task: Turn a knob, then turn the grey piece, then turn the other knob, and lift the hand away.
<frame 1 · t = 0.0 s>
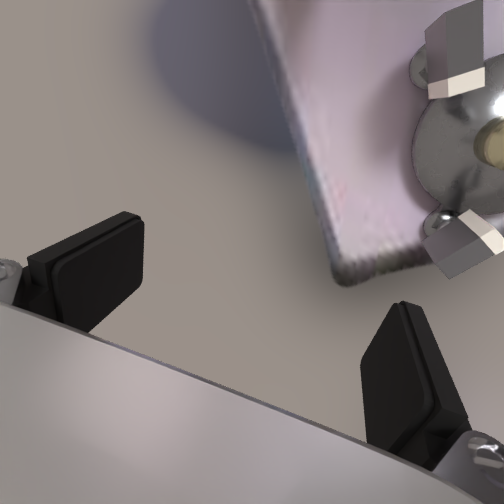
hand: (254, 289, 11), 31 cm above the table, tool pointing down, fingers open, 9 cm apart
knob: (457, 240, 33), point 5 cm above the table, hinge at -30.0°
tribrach: (492, 139, 32), on the table
grey piece: (448, 57, 26), point 5 cm above the table, hinge at -30.0°
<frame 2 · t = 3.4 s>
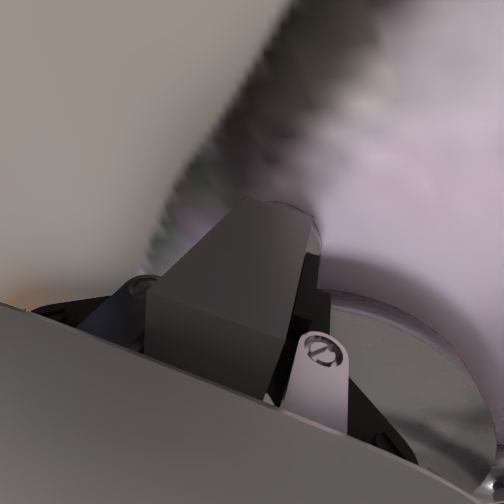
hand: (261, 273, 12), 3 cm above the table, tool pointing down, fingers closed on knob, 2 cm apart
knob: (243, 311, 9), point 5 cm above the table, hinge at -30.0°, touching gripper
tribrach: (320, 401, 18), on the table
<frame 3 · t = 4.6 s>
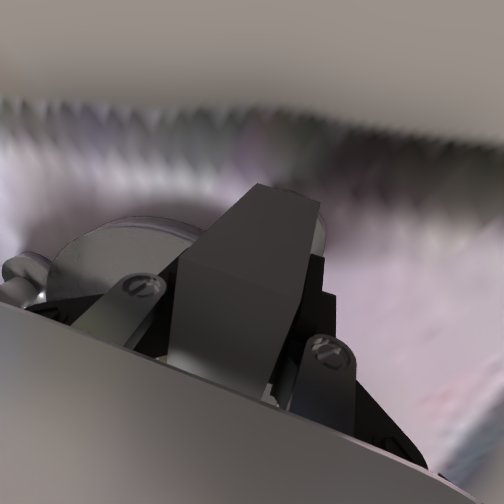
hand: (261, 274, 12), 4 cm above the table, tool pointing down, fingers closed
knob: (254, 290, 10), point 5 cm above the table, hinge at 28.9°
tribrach: (172, 328, 20), on the table
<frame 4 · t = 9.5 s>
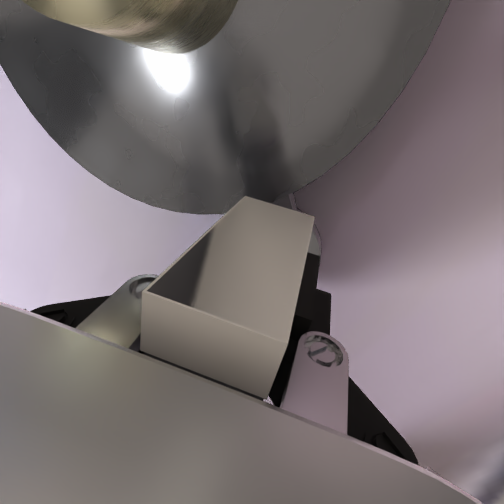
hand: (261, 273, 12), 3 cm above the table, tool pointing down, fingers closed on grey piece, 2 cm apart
grey piece: (243, 311, 9), point 5 cm above the table, hinge at -30.0°, touching gripper
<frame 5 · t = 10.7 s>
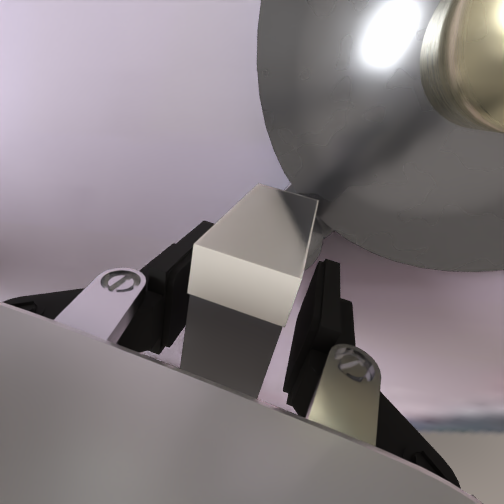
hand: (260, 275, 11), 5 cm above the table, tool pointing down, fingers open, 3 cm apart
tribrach: (483, 51, 11), on the table
grey piece: (258, 280, 11), point 5 cm above the table, hinge at 29.9°
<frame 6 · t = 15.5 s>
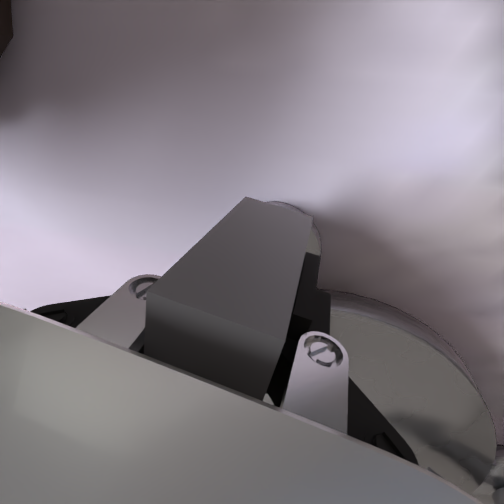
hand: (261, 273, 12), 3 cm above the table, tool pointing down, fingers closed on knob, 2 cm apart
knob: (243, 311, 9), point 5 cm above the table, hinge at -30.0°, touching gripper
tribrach: (320, 401, 18), on the table
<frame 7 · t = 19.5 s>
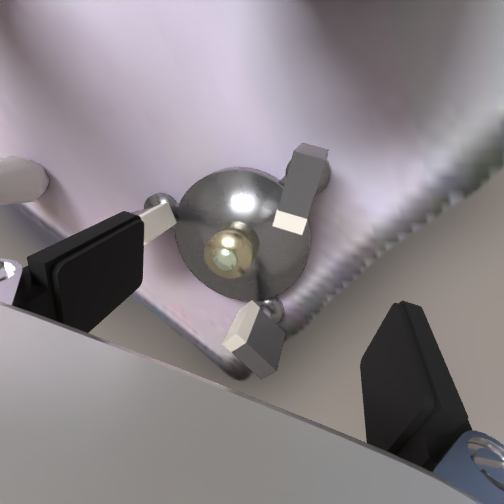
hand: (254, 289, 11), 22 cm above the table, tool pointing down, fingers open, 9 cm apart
salt shaker: (37, 175, 39), on the table
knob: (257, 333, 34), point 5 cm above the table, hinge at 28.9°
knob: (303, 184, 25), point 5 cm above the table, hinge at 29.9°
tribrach: (243, 235, 35), on the table
grey piece: (139, 224, 32), point 5 cm above the table, hinge at 30.0°
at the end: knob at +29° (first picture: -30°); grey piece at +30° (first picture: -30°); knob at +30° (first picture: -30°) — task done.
